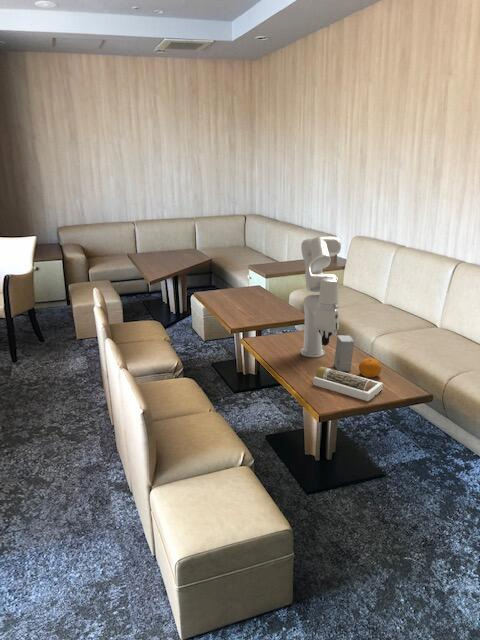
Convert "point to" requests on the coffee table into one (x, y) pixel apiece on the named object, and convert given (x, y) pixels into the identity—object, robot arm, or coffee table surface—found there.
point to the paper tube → (344, 378)
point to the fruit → (370, 367)
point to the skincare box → (343, 353)
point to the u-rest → (349, 388)
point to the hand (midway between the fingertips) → (325, 344)
